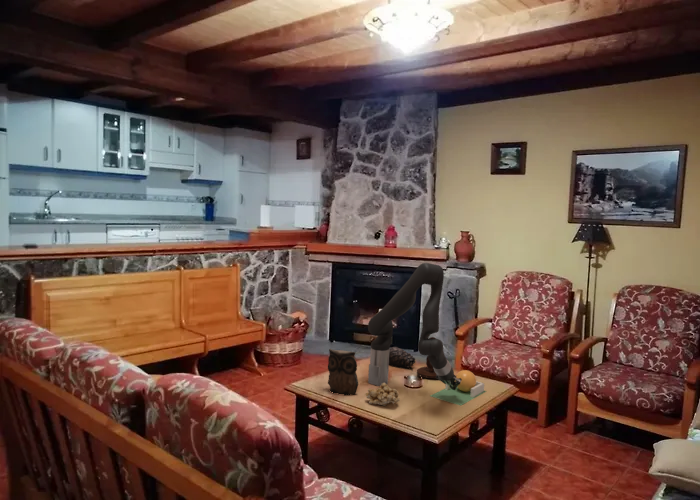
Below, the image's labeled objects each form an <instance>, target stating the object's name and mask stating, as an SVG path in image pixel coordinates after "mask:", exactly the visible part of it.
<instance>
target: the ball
mask: <svg viewBox="0 0 700 500" xmlns="http://www.w3.org/2000/svg"><path fill="white" fill-rule="evenodd" d="M455 376H456V378H458V379H459V378H461V379H462V380H461V383H460V384H459V385H458V386H457V388H458V389H460V390H461V391H464V392H468V391H471V388H473V387H475V386H476V381H477V378H476V375H475V374H474V373H473V372H472V371H470V370H469V369H467V370H466V369H463V370H460V371H458V372H457V373H456V374H455ZM455 382H456V380H455Z"/></svg>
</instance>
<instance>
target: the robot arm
mask: <svg viewBox="0 0 700 500" xmlns="http://www.w3.org/2000/svg"><path fill="white" fill-rule="evenodd" d="M444 275H445V273H444V269H443V267H442V266H441V265H439V264H434V263H428V262H422V263H420V264H419V265H418V266H417V267H416V269H415V270H414V271H413V273H412V274H411V275H410V277H409V279H408V280H407V281H406V282H405V283H404V284H403V285H402V287H401V288H400V289H398V291H397V292H396V293H395V294H394V295H393V296H392V298H391V299H390V300H389V301H388V302H387V303H386V305H384V307H382V308H381V309H380V310H379V311H378V312H377V313H376V314H375V315H373V316H372V317H371V318H370V319H369V321H368V324H367V329H368V332H369V333H370V334H371V335H372V336H375V337H376V336H377V337H376V338H375V339H374V340H373V341H371V344H370V356H369V358H370V359H369V364H368V376H367V377H368V378H367V379H368V381H367V383H368V384H370V385H372V386H376V387H379V386H381V384H382V383H386V384H387V385H388V383H389V370H390V369H389V366H390V365H389V350H390V348H391V344H392V340H393V332H394V331H393V329H394V327H393V325H394V324H393V320H395V319H398V318H399V317H401V316H403V315H404V314H405V313H406V312H408V311H409V310H410V309H412V307H413V306H414V304H415V303H416V298H417V292H418V290H419V289H420V288H421V287H422V286H423V285H429V286H430V295H429V298H428V300H427V302H426V304H425V306H424V308H423V309H422V310H423V312H422V321H421V322H422V323H421V324H422V327H421V333H420V336H419V339H418V344H417V350H418V352H419V354H420V355H421V356H428V355H429V357H428V358H429V361H430V363H431V365H432V366H433V369H434V371H435V373H436V374H437V375H436V378H435V379H436V380H439V381H440V382H442V383H443V384H444V385H446V384H447V385H448V386H450V388H451V389H452V390H456V388H457V386H458V385H459V384H460V383H461V380H462V379H461V378H459V379H458V378H456V374H455V372H454V368H453V366H452V365H451V363H450V362H449V360H448V359H447V357H446V356H445V352H444V343H443V341H442V340H441V339H438V338H436V339H429V338H430V337H431V335H432V334H436V333H438V332H439V330H440V305H441V298H442V292H443V286H444V279H445V278H444V277H445V276H444ZM455 380H456V382H455Z"/></svg>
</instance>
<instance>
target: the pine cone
mask: <svg viewBox="0 0 700 500" xmlns="http://www.w3.org/2000/svg"><path fill="white" fill-rule="evenodd" d="M414 364H416V357H414V356H413V355H412V354H411V353H410V352H408V351H406V350H404V349H402V348H399V347H398V346H393V347H390V350H389V366H390V367H394V368H397V369H403V370H408V371H412V370H413V365H414Z"/></svg>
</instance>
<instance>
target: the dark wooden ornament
mask: <svg viewBox="0 0 700 500" xmlns="http://www.w3.org/2000/svg"><path fill="white" fill-rule="evenodd" d="M428 339H437V338H436V337H434V336H430V337H429V338H428ZM428 357H429V355H426V359H425V360H426V361H425V364H426V366H422V367H419V368H417V369H416V374H417V375H418V376H420V378H421V377H422V379H423V378H426V379H437V378H436V375H437V374H436V373H435V371H434V369H433V366H432V365H431V363H430V361H429V358H428Z"/></svg>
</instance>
